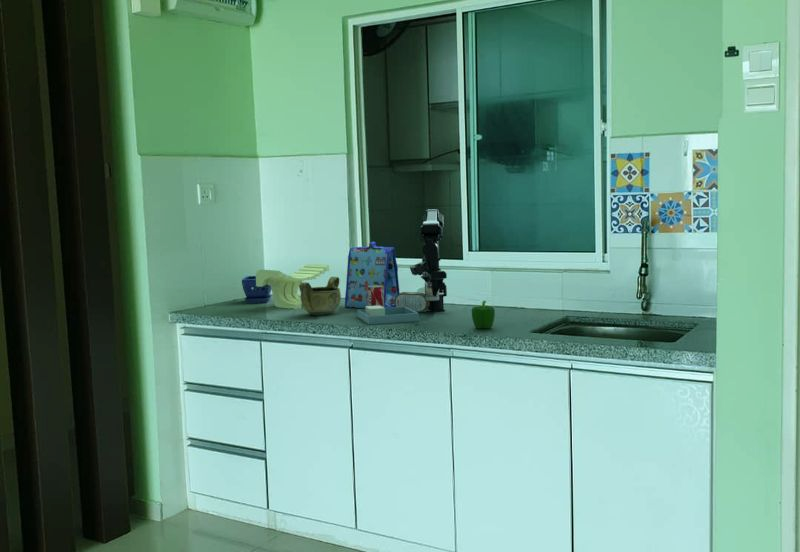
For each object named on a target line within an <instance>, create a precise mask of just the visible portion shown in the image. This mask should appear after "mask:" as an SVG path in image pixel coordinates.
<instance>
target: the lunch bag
mask: <svg viewBox="0 0 800 552" xmlns="http://www.w3.org/2000/svg"><path fill="white" fill-rule="evenodd" d="M346 270H347V271H346V281H345V283H346V285H345V297H344V299H345V300H344V307H345V308H352V307H355V308H354V309H365V306H367V289H368V286H371V285H381V286H382V289H383V292H384V308H390V307H396V306H395V298H396V296H397V295H398V294H400V293H401V291H400V284H399V283H400V282H399V275H398V274H399V273H398V272H399V271H398V263H397V259H396V249H395V247H389V246H385V247H384V246H377V245H376V242H375V241H371V242H369V243H368V246H356V247H355V246H354V247H350V248H349V250H348V255H347V269H346Z"/></svg>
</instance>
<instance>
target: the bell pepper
mask: <svg viewBox="0 0 800 552" xmlns="http://www.w3.org/2000/svg"><path fill="white" fill-rule="evenodd" d="M486 303H487V301H486V300H483V301H482V303H481V304H482V305H479V306H473V307H472V308H471V318H472V323H473V326H474V327H475V329H486V330H488V329H491V328H493V326H494V322H495V316H496V314H495V313H496V312H495V308H494V307H493V306H489V305H486Z"/></svg>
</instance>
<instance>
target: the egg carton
mask: <svg viewBox="0 0 800 552" xmlns="http://www.w3.org/2000/svg"><path fill="white" fill-rule="evenodd" d="M364 309H365V314H367V315H368V316H382V315H385V308H384V307H382V306H380V305H379V306H365V308H364Z"/></svg>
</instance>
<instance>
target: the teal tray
mask: <svg viewBox="0 0 800 552" xmlns="http://www.w3.org/2000/svg"><path fill="white" fill-rule="evenodd" d="M356 311H357V312H356V313H357V315H356V316H357V318H358V319H359V320H361V321H363V322H364V323H365V324H367V325H381V324H393V323H395V324H396V323H397V324H398V323H408V322H410V323H411V322H419V321H420V313H417V312H415V311H413V310H411V309H409V308H407V307H396V306H395V307H390V308H385V315H382V316H368V315H367V314H365V308H359V309H357V310H356Z"/></svg>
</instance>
